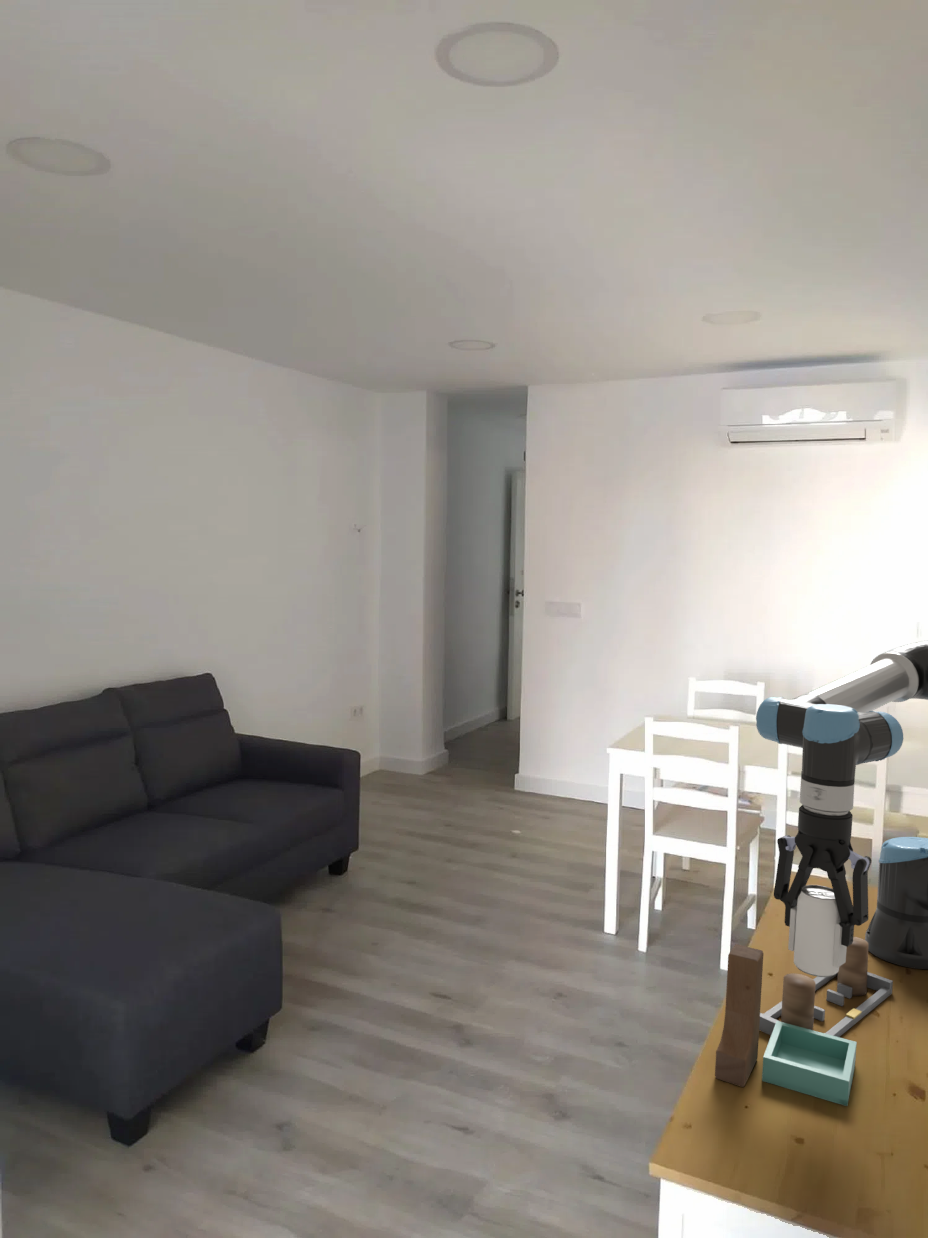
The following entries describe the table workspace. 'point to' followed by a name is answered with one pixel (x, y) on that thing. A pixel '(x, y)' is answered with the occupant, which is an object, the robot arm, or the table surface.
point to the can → (816, 931)
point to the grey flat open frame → (852, 1017)
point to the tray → (810, 1062)
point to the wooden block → (740, 1016)
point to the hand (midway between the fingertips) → (816, 955)
